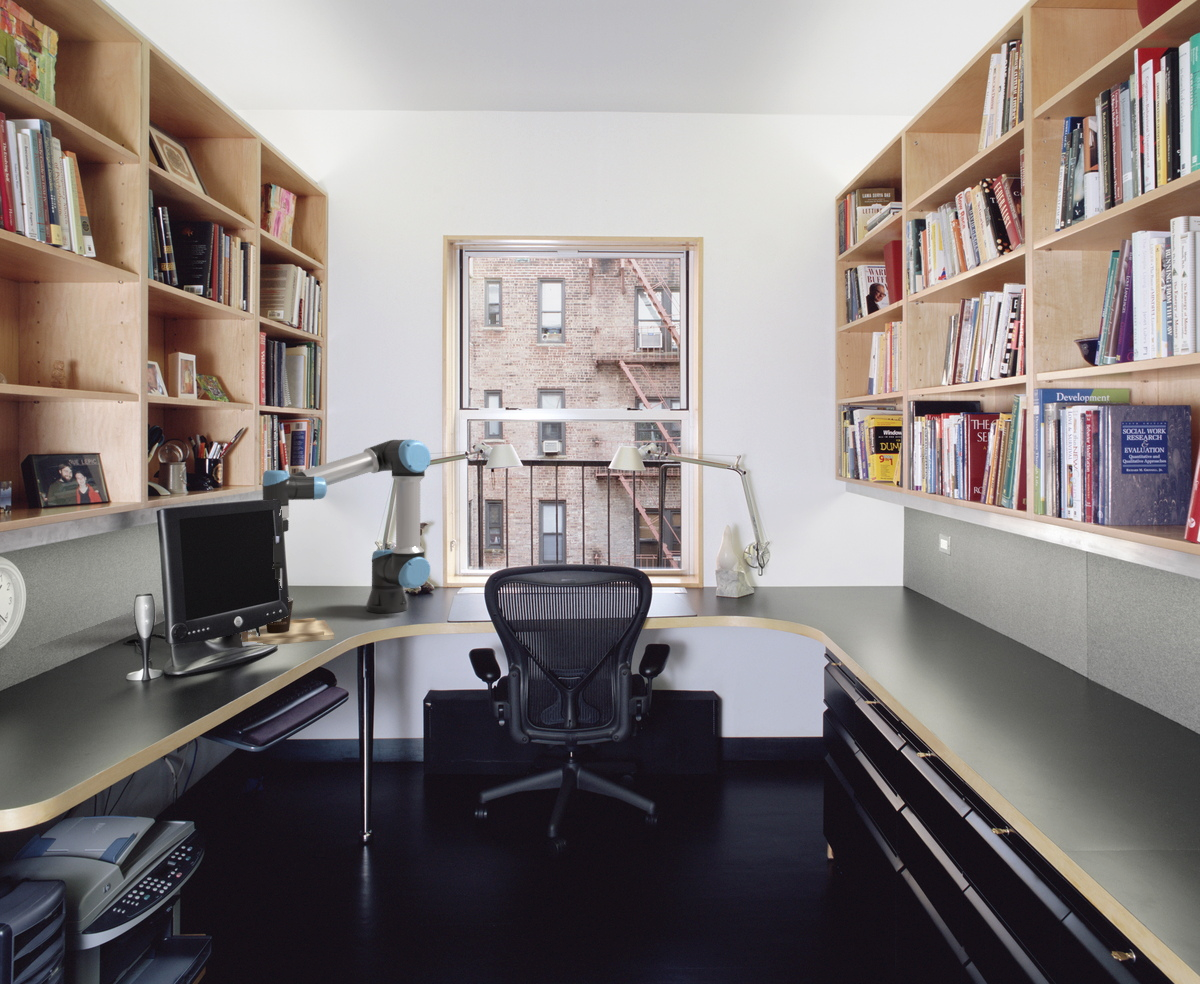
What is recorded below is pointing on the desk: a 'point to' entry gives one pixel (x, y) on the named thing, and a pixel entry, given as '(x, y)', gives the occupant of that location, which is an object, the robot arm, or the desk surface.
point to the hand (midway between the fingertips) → (275, 585)
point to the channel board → (293, 633)
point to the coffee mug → (281, 622)
